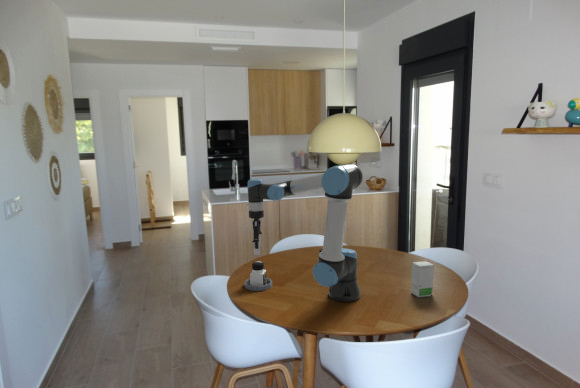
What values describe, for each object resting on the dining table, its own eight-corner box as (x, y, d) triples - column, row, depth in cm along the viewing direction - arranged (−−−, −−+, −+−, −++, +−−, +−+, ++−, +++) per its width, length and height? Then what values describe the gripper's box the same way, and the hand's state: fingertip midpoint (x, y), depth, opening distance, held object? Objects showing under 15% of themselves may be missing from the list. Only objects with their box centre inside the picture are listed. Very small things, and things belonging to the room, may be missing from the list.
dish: (277, 285, 210) (277, 281, 209) (257, 293, 200) (257, 289, 199) (259, 278, 219) (259, 275, 219) (239, 286, 209) (239, 282, 209)
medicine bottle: (263, 287, 205) (263, 265, 203) (250, 286, 207) (249, 264, 205) (266, 282, 212) (266, 260, 210) (253, 281, 213) (252, 260, 212)
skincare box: (417, 297, 191) (419, 266, 189) (410, 292, 197) (411, 262, 195) (433, 295, 193) (434, 264, 191) (425, 290, 200) (426, 260, 197)
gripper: (250, 205, 215) (252, 244, 219) (246, 215, 191) (248, 258, 194) (264, 205, 216) (265, 243, 219) (262, 214, 191) (264, 257, 194)
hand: (257, 250), depth 206 cm, fingers open, 13 cm apart
